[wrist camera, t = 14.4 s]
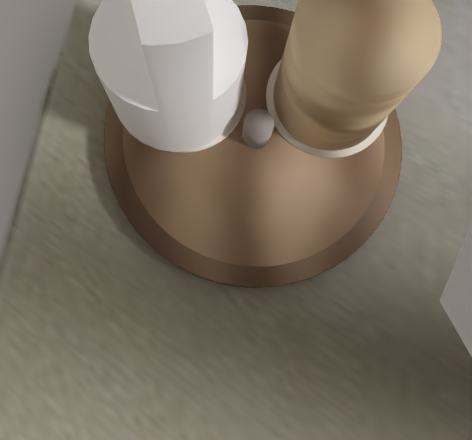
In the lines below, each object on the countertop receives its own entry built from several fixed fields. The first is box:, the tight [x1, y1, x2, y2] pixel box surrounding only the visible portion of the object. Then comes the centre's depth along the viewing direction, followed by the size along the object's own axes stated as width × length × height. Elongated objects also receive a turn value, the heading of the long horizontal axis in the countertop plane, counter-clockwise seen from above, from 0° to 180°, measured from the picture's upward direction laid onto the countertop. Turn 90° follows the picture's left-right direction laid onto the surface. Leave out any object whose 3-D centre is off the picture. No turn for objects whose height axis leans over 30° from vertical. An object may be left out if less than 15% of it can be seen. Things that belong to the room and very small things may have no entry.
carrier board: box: [104, 5, 402, 288], centre depth 29 cm, size 21×21×3 cm
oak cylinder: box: [273, 0, 442, 151], centre depth 26 cm, size 8×8×8 cm
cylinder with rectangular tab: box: [88, 0, 248, 152], centre depth 24 cm, size 9×9×12 cm
